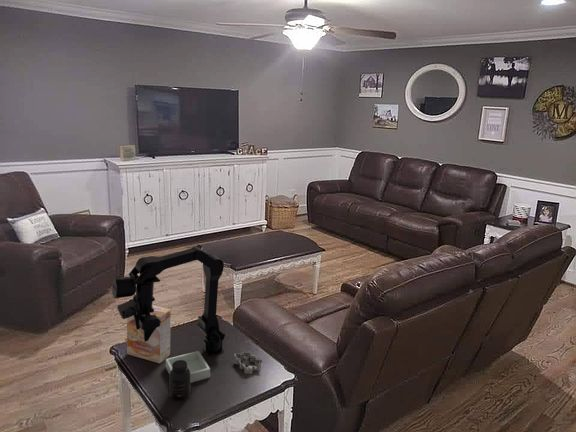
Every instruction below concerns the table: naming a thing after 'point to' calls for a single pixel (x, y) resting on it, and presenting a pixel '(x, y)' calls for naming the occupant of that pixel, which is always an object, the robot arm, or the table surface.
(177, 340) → the table surface
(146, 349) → the coffeecake box
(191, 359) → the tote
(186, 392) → the supplement bottle
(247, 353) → the egg carton
